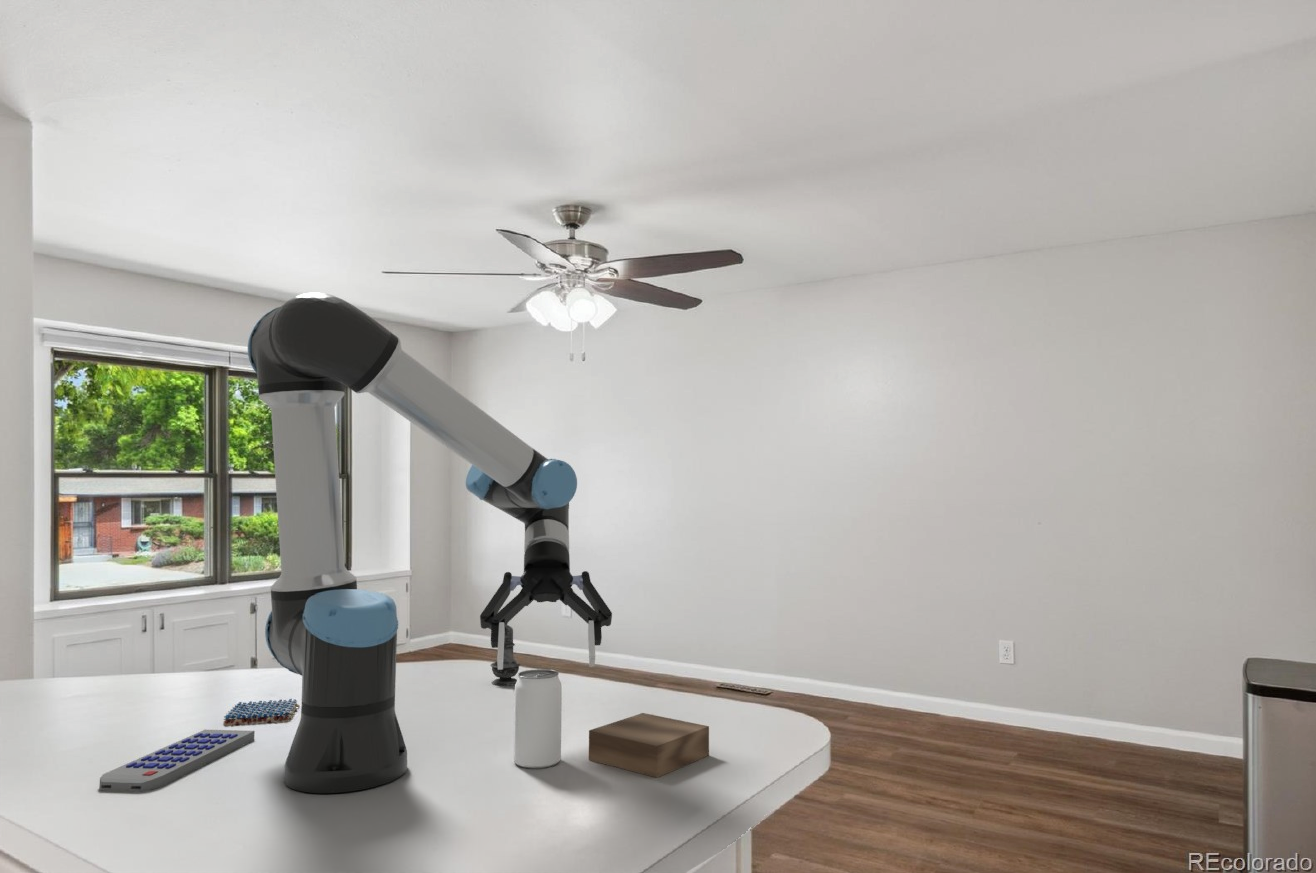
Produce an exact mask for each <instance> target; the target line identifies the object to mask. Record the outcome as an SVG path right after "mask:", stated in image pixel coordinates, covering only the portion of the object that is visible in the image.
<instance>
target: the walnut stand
mask: <svg viewBox="0 0 1316 873" xmlns="http://www.w3.org/2000/svg"><path fill="white" fill-rule="evenodd" d="M708 756H710V726H709V725H705V724H699V723H695V722H691V721H690V722H689V721H685V720H680V719H675V718H671V717H670V718H669V717H665V716H664V717H663V716H659V715H655V714H649V713H645V712H641V713H639V714H635V715H632V716H630V717H629V716H628V717H626V718H623V719H620V720H617V721H614V722H610V723H608V724H604V725H602V726H598V727H595V728H592V729H589V730H588V760H589V761H592V762H596V763H600V764H603V765H606V766H607V765H608V766H611V767H615V768H619V769H623V770H627V771H630V772H634V773H638V774H642V775H646V776H650V777H653V778H660V777H662V776H664V775H666V774H669V773H671V772H673V771H675V770H678V769H680V768H683V767H685V766H687V765H690V764H692V763H694V762H696V761H699V760H701V759H704V758H705V757H708Z"/></svg>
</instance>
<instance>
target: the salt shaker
mask: <svg viewBox="0 0 1316 873" xmlns="http://www.w3.org/2000/svg"><path fill="white" fill-rule="evenodd" d="M504 630H505V635H504V656H503V669H502V670H498V665H497V660H495V661H494V662H492V663H490V667H491V671H492V673H493V675H494V677H497V678H496V679H494V680H492V681H491V684H492V685H493V686H501V687H502V686H504V687H505V686H515V684H516V682H517V680H518V678H517V679H516V678H514V677H515V676H516V675H518V672H519V670H520V666H521V664H522V663H520V662H518V661H516V659H515V656H514V647H515V645H516V643H514V628H513V627H512V626H510V625H508V623H507V624H506V625H505V626H504Z"/></svg>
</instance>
